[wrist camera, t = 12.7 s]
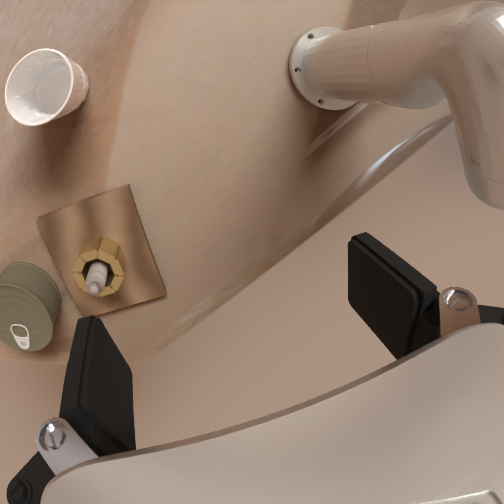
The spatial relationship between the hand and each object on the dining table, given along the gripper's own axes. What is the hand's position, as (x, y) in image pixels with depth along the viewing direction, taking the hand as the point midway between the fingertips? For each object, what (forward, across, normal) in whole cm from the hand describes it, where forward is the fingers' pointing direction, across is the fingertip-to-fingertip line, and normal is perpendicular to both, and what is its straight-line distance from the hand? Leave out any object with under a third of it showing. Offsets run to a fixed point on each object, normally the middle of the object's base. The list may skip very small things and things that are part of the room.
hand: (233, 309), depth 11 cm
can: (+33, +29, +13) cm, 46 cm away
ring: (+31, +14, +10) cm, 35 cm away
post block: (+32, +14, +10) cm, 37 cm away
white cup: (+32, +12, -13) cm, 37 cm away
